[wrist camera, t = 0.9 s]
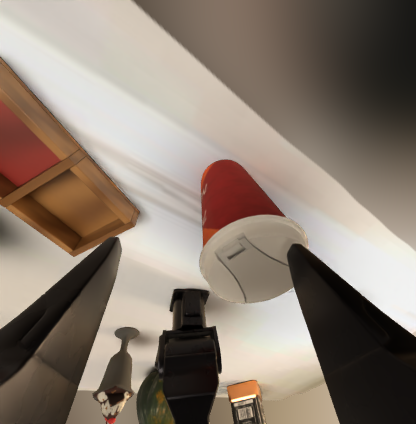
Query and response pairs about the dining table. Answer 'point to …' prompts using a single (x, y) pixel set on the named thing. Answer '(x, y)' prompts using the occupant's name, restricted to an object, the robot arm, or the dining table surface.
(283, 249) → the paper cup
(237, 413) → the whiskey bottle
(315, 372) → the dining table surface
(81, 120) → the dining table surface
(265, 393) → the dining table surface
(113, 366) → the sundae
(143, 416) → the squash
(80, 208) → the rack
